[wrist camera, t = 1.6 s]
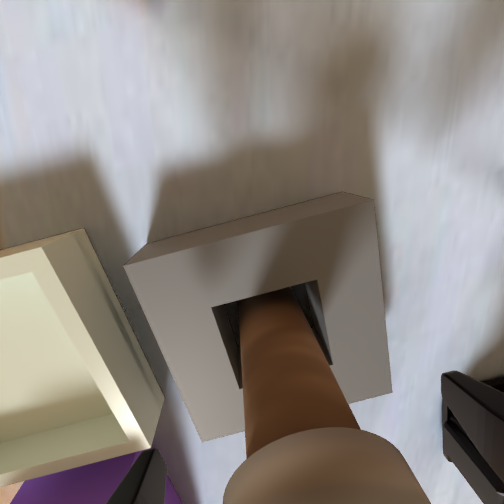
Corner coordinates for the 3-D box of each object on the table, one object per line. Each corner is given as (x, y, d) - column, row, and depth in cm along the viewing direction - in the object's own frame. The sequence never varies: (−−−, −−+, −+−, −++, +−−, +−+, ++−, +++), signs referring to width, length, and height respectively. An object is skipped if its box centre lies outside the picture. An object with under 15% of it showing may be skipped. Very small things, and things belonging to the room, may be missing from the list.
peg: (297, 257, 14) (439, 456, 5) (312, 326, 15) (442, 586, 6) (217, 279, 14) (190, 519, 5) (238, 345, 15) (252, 633, 6)
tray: (83, 228, 13) (41, 246, 10) (164, 398, 16) (150, 448, 13) (-139, 287, 13) (-245, 322, 10) (-9, 443, 16) (-59, 502, 13)
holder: (342, 191, 13) (373, 199, 10) (364, 352, 16) (392, 392, 13) (146, 243, 13) (123, 266, 10) (206, 393, 16) (201, 442, 14)
